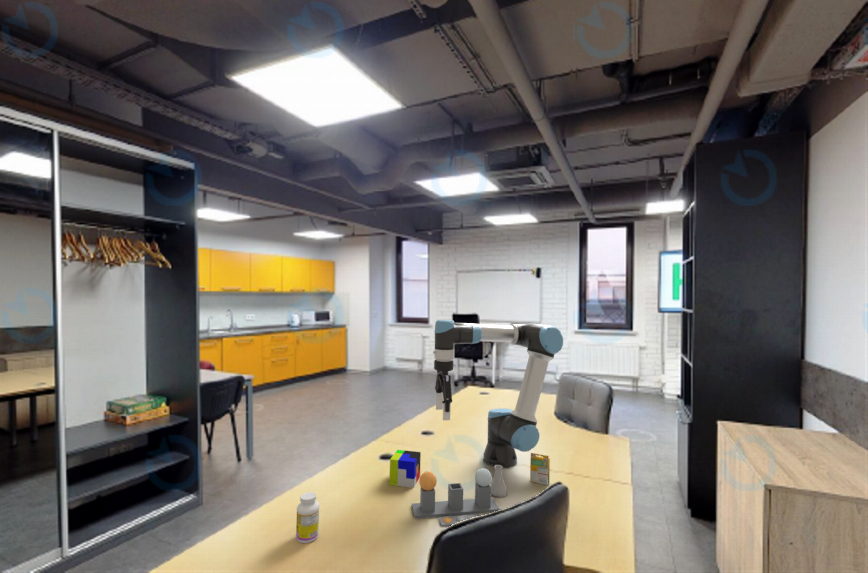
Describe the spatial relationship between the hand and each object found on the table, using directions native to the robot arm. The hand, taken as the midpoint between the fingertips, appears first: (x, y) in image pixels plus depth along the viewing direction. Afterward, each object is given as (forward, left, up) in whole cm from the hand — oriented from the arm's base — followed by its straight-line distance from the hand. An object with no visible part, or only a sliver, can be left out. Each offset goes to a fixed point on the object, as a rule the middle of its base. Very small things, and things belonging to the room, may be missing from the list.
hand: (442, 414), depth 156 cm
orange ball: (+8, +15, -18) cm, 25 cm away
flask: (-21, +6, -29) cm, 36 cm away
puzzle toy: (+13, -9, -29) cm, 33 cm away
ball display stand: (-2, +15, -29) cm, 32 cm away
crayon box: (-41, 0, -29) cm, 50 cm away
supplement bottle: (+47, +24, -29) cm, 60 cm away
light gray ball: (-12, +15, -18) cm, 26 cm away
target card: (-2, +23, -29) cm, 37 cm away
